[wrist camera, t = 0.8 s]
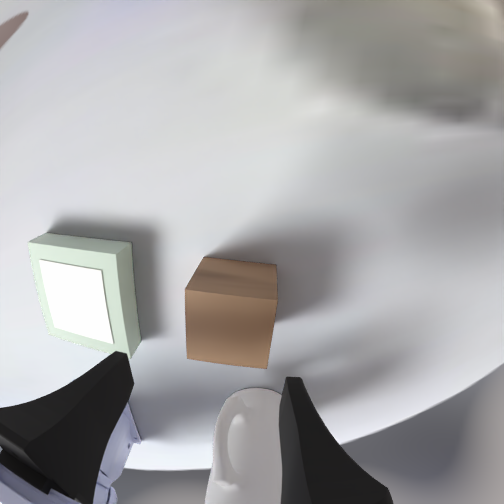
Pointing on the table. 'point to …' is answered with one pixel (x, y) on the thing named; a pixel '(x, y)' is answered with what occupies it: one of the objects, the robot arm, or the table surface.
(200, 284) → the walnut cube
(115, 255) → the base plate
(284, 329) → the table surface
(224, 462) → the mug
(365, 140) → the table surface
